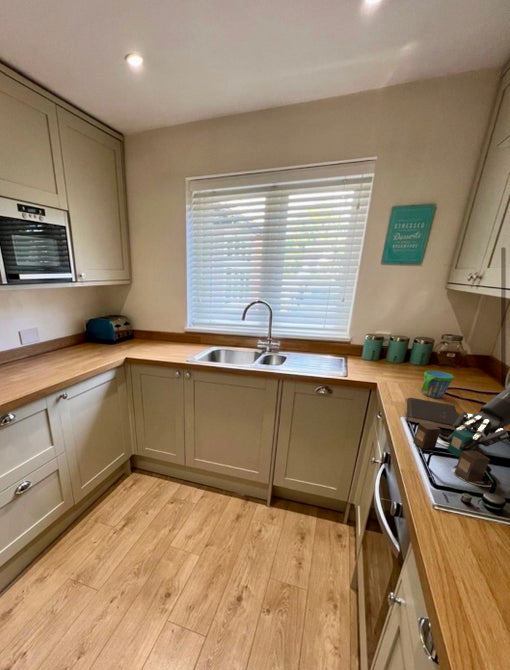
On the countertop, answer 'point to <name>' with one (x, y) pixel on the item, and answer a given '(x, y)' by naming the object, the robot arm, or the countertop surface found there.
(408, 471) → the countertop surface
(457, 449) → the teal block
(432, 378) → the snack cup
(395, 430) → the countertop surface
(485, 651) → the countertop surface
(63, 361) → the countertop surface
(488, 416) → the robot arm
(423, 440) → the walnut block
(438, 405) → the hardcover book
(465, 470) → the walnut block
